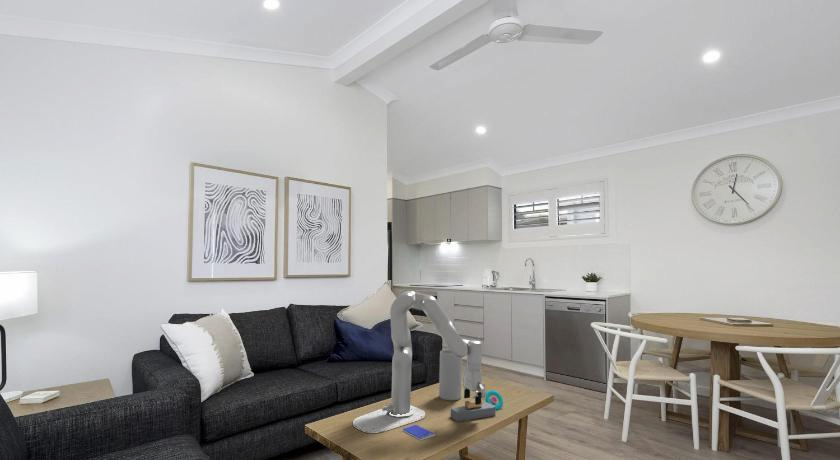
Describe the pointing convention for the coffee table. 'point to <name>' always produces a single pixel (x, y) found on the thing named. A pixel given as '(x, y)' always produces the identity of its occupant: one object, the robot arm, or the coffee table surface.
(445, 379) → the cylinder vase
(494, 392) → the ornament
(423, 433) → the hard drive
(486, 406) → the grey slotted block
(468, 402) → the clip
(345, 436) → the coffee table surface
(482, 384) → the architectural model
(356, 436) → the coffee table surface
